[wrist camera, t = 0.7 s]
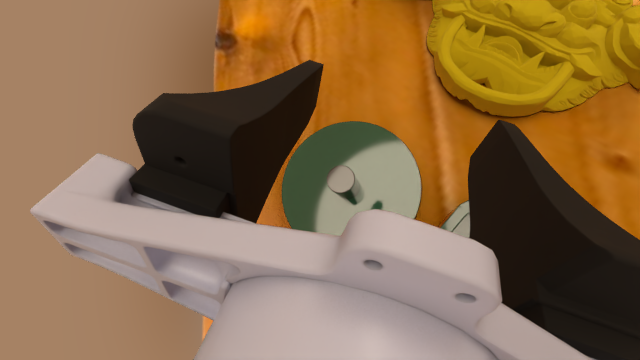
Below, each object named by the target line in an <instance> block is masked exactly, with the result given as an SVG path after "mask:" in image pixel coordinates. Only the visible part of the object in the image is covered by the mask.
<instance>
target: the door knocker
mask: <svg viewBox="0 0 640 360" xmlns="http://www.w3.org/2000/svg"><path fill="white" fill-rule="evenodd" d="M431 1H432V8H433V12H434V14H435V15H434V18H433V19H432V22H431V25H430V27H429V29H428V35H427V47H428V49H429V51H430V53H431V54H432V55H433V56H434V67H435V71H436V73H437V76H440V78H441V81H442V85H443V86H444V87H445V88H446V90H447V91H448V92H450V93H451V94H452V95H453V96H454V97H455V96H457V98H458V99H459V100H461V99H462V100H463V99H467V100H468V101H469V103H472V104H473V106H474V107H475V108H476V109H479V110H481V111H482V112H485V111H488V112H489V113H490V114H492V115H501V116H527V115H531V114H534V113H537V112H539V111H541V110H544V111H561V110H565V109H569V108H572V107H574V106H576V105H579V104H581V103H583V102H584V101H586V100H587V98H589V97H592V96H594V95H595V94H596V93H597V92H598V91H599V90H601V89H603V88H606V87H609V88H612V87H616V86H620V85H622V84H624V83H627V82H629V83H630V84H632V85H633V86H634V87H635V88H637V89H640V5H637V6H632V4H633V0H431ZM482 83H485V86H486V87H487V88H486V87H484V86H482V85H480V84H482Z"/></svg>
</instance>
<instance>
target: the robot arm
mask: <svg viewBox="0 0 640 360" xmlns="http://www.w3.org/2000/svg"><path fill="white" fill-rule="evenodd" d="M323 65H324V64H321V63H317V62H314V61H311V60H308V61H306V62H304V63H302V64H300V65H298V66H296V67H294V68H292V69H290V70H288V71H286V72H284V73H282V74H279V75H277V76H274V77H272V78H270V79H267V80H265V81H262V82H259V83H256V84H253V85H249V86H245V87H241V88H236V89H230V90H225V91H219V92H209V93H194V94H169V93H163V94H162V95H160V96H159V97H158V98H157V99H155V100H154V101H153V102H152V103H151V104H149V105H148V106H147V107H146V108H144V109H143V110H142V111H141V112H140V113H138V114H137V115H136V117H135V118H134V120H133V131H134V135H135V138H136V141H137V143H138V146H139V149H140V152H141V154H142V157H143V159H144V162H145V164H144V165H143V166H142V167H141V168H140V169H139V170H138V171H137V170H136V168H134V167H133V166H132V165H130V164H128V163H126V162H123V161H120V160H118V159H115V158H112V157H109V156H106V155H103V154H99V153H97V154H96V155H95V156H94V157H92V158H91V159H90V160H89V161H88V162H87V163H85V164H84V165H83V166H82V167H80V168H79V169H78V170H77V171H76V172H74V173H73V174H72V175H71V176H70V177H69V178H67V179H66V180H65V181H64V182H62V183H61V184H60V185H59V186H58V187H57V188H55V189H54V190H53V191H52V192H50V193H49V194H48V195H47V196H46V197H44V198H43V199H42V200H41V201H40V202H38V203H37V204H36V205H35V206H34V207H32V208H31V209H30V212H31V214H32V215H33V216H34V217H35V218H36V219H37V220H38V221H39V222H40V223H41V224H42V225H43V226H44V227H45V228H46V229H47V230H48V231H49V232H50V233H51V235H52V236H53V237H54V238H55V239H56V240H57V241H58V242H59V243H60V244H61V245H62V246H63V247H64V248H65V249H66V250H67V251H68V252H69V253H70V254H71V255H73V256H76V257H79V258H81V259H83V260H86V261H88V262H91V263H93V264H96V265H98V266H100V267H103V268H105V269H107V270H110V271H112V272H114V273H116V274H119V275H121V276H123V277H125V278H127V279H129V280H131V281H134V282H136V283H138V284H140V285H142V286H144V287H146V288H148V289H150V290H152V291H155V292H156V293H158V294H160V295H162V296H164V297H166V298H169V299H171V300H173V301H175V302H177V303H179V304H181V305H183V306H185V307H187V308H189V309H191V310H193V311H195V312H197V313H199V314H201V315H203V316H205V317H207V318H209V319H211V320H213V323H212V325H211V326H210V328H209V330H208V332H207V334H206V336H205V338H204V340H203V342H202V344H201V346H200V348H199V350H198V352H197V354H196V355H195V357H194V359H193V360H640V240H639V239H637V238H636V237H634V236H633V235H631V234H630V233H628V232H627V231H625V230H624V229H622V228H621V227H620V226H618V225H617V224H615V223H614V222H613V221H611V220H610V219H609V218H607V217H606V216H605V215H603V214H602V213H601V212H599V211H598V210H597V209H596V208H594V207H593V206H592V205H591V204H589V203H588V202H587V201H586V200H585V199H584V198H583V197H581V196H580V195H579V194H578V193H577V192H576V191H575V190H574V189H573V188H571V187H570V186H569V185H568V184H567V183H566V182H565V181H564V180H563V179H562V177H561V176H560V175H559V174H558V173H557V172H556V171H555V170H554V169H553V168H552V167H551V166H550V165H549V163H548V162H547V161H546V160H545V159H544V158H543V156H542V155H541V154H540V153H539V152H538V150H537V149H536V148H535V147H534V146H533V144H532V143H531V142H530V141H529V140H528V138H527V137H526V136H525V135H524V134H523V133H522V132H521V130H520V129H519V128H518V127H517V126H515V125H514V124H511V123H508V122H505V121H502V120H498V121H497V123H496V124H495V125H494V126H493V128H492V129H491V130H490V132H489V133H488V134H487V136H486V137H485V138H484V140H483V141H482V142H481V144H480V145H479V146H478V148H477V149H476V150H475V152H474V153H473V154H472V156H471V158H470V164H469V172H468V192H469V211H470V236H469V238H467V237H464V236H461V235H458V234H456V233H453V232H450V231H447V230H444V229H441V228H438V227H435V226H432V225H429V224H427V223H424V222H421V221H418V220H415V219H412V218H409V217H406V216H403V215H400V214H397V213H395V212H390V211H384V210H378V209H373V210H368V211H363V212H358V213H356V214H355V215H354V216H353V217H352V218H351V219H350V220H349V221H348V223H347V225H346V228H345V230H344V232H343V233H342V235H341V236H336V235H330V234H323V233H316V232H309V231H302V230H296V229H289V228H282V227H275V226H269V225H262V224H256V222H257V220H258V218H259V215H260V213H261V211H262V208H263V206H264V204H265V201H266V199H267V197H268V195H269V193H270V190H271V188H272V186H273V184H274V182H275V180H276V177H277V175H278V173H279V171H280V169H281V167H282V165H283V163H284V162H285V160H286V158H287V156H288V155H289V153H290V152H291V150H292V149H293V147H294V145H295V144H296V142H297V141H298V139H299V138H300V136H301V134H302V133H303V131H304V130H305V128H306V126H307V125H308V123H309V120H310V118H311V116H312V114H313V111H314V109H315V107H316V102H317V97H318V92H319V86H320V81H321V76H322V71H323Z"/></svg>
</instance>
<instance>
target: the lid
mask: <svg viewBox="0 0 640 360" xmlns="http://www.w3.org/2000/svg"><path fill="white" fill-rule="evenodd" d="M421 189H422V188H421V177H420V173H419V169H418V166H417V163H416V161H415V159H414V157H413V155H412V153H411V152H410V150H409V149H408V148H407V146H406V145H405V144H404V143H403V142H402V141H401V140H400V139H399V138H398V137H397V136H395V135H394V134H393V133H391V132H390V131H388V130H386V129H384V128H382V127H380V126H377V125H374V124H371V123H366V122H356V121H350V122H341V123H337V124H333V125H330V126H327V127H325V128H323V129H321V130H319V131H317V132H316V133H314V134H312V135H311V136H310V137H309V138H307V139H306V140H305V141H304V142H303V143H302V144H301V145H300V146H299V147H298V148H297V150H296V151H295V153H294V154H293V156H292V157H291V159H290V161H289V163H288V165H287V168H286V170H285V174H284V177H283V183H282V203H283V207H284V212H285V215H286V217H287V220H288V222H289V224H290V226H291V228H292V229H296V230H302V231H309V232H316V233H323V234H330V235H336V236H341V235H342V233H343V232H344V230H345V228H346V225H347V223H348V221H349V220H350V219H351V218H352V217H353V216H354V215H355V214H356V213H358V212H363V211H368V210H373V209H378V210H384V211H390V212H395V213H397V214H400V215H403V216H406V217H409V218H412V219H415V217H416V214H417V211H418V209H419V205H420V200H421Z"/></svg>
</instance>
